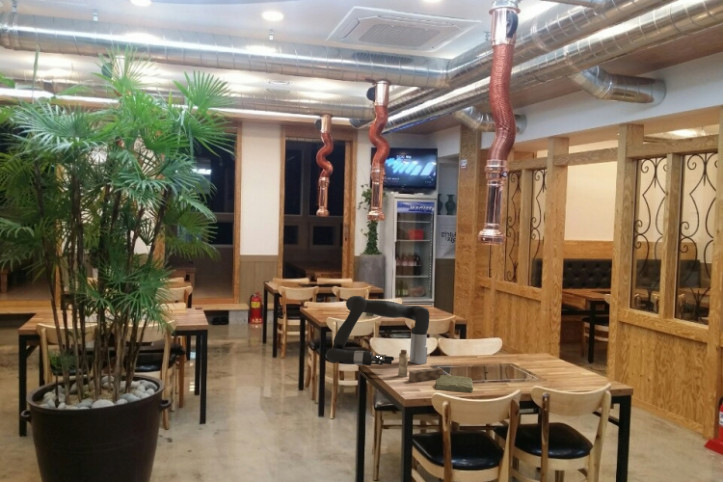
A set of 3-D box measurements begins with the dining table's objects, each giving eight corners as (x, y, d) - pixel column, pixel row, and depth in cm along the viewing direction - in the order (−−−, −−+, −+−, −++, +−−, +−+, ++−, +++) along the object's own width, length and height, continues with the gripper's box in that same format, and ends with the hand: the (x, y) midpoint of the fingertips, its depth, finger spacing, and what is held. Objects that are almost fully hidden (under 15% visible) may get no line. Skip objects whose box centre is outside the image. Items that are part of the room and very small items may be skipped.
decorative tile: (471, 383, 333) (471, 376, 333) (472, 393, 313) (473, 386, 313) (435, 380, 335) (436, 373, 335) (434, 390, 315) (435, 383, 315)
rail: (437, 376, 342) (438, 367, 341) (442, 378, 338) (443, 369, 338) (408, 380, 330) (409, 371, 330) (413, 382, 327) (414, 372, 327)
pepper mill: (403, 374, 342) (404, 349, 342) (408, 376, 339) (409, 350, 338) (396, 375, 340) (397, 349, 339) (401, 377, 336) (403, 351, 335)
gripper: (361, 353, 336) (391, 356, 333) (365, 348, 350) (394, 350, 347) (360, 367, 336) (390, 370, 333) (365, 362, 350) (394, 364, 347)
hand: (392, 360), depth 340 cm, fingers open, 8 cm apart
